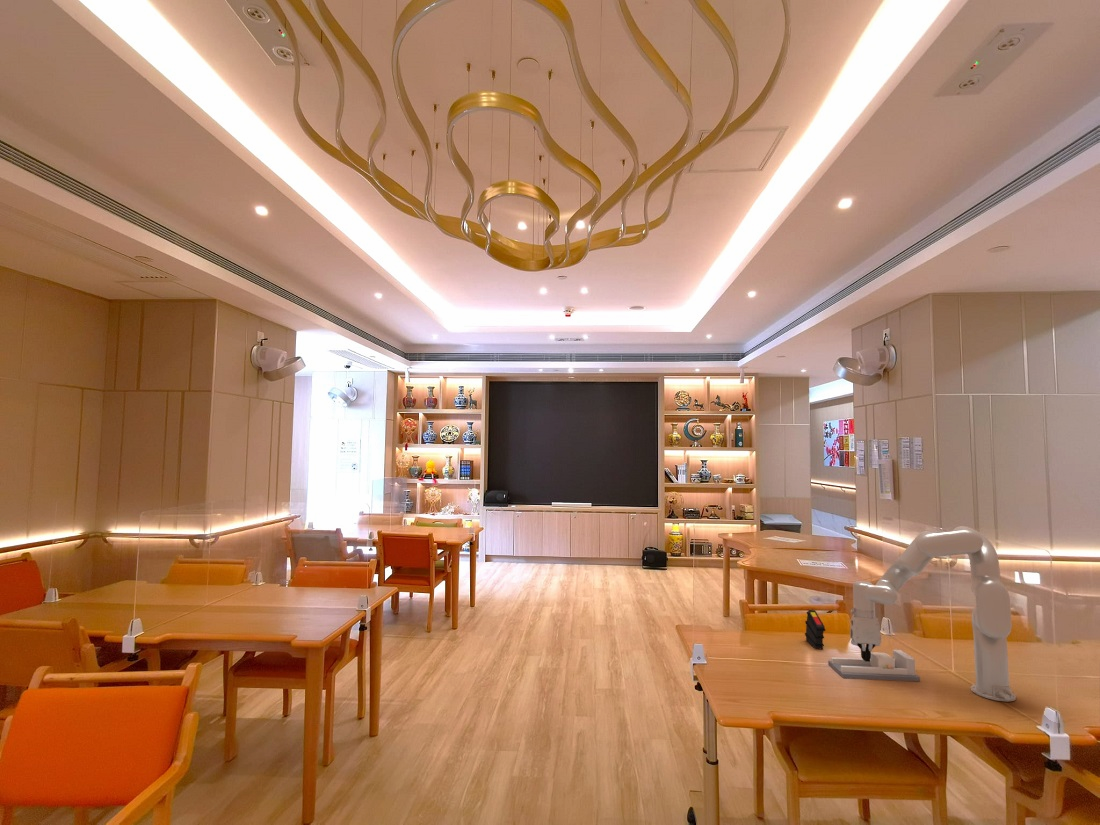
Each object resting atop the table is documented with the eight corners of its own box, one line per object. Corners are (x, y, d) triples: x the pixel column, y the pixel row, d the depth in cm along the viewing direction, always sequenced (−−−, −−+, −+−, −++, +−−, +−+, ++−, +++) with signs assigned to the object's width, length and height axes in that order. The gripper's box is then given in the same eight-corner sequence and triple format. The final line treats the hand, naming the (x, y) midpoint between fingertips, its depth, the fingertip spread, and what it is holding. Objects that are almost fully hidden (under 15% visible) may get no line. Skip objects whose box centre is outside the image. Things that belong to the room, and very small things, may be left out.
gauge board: (919, 681, 208) (919, 661, 208) (843, 678, 211) (842, 658, 211) (900, 667, 222) (899, 648, 222) (828, 664, 224) (827, 645, 225)
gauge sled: (898, 674, 210) (897, 661, 210) (881, 673, 211) (881, 660, 211) (883, 663, 221) (882, 650, 222) (867, 662, 222) (867, 650, 222)
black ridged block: (810, 635, 256) (815, 609, 250) (822, 657, 243) (827, 630, 238) (802, 635, 256) (807, 609, 250) (813, 656, 244) (819, 630, 238)
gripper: (848, 615, 215) (850, 663, 214) (888, 616, 214) (890, 664, 212) (840, 609, 223) (842, 656, 221) (879, 611, 221) (881, 657, 220)
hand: (866, 660), depth 217 cm, fingers closed
